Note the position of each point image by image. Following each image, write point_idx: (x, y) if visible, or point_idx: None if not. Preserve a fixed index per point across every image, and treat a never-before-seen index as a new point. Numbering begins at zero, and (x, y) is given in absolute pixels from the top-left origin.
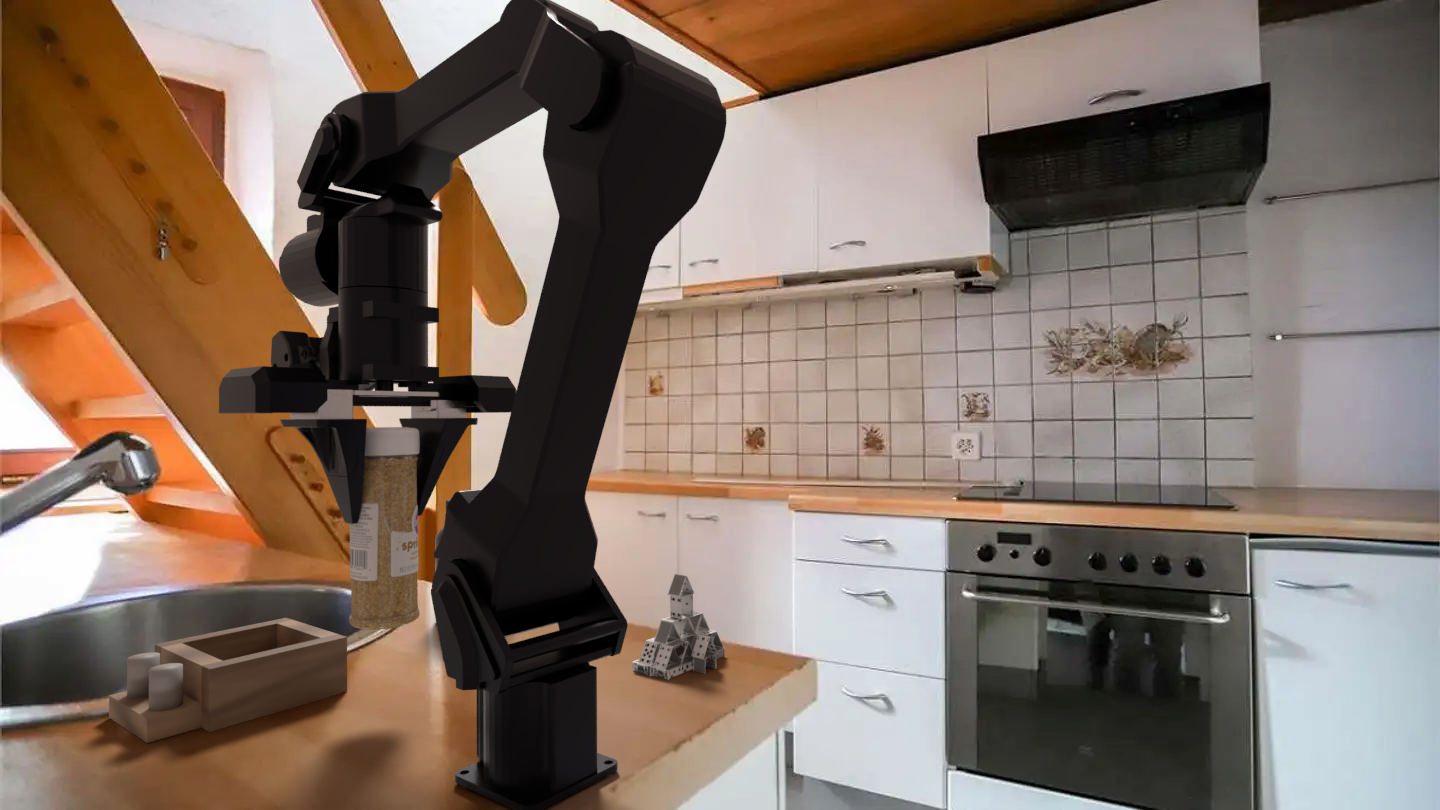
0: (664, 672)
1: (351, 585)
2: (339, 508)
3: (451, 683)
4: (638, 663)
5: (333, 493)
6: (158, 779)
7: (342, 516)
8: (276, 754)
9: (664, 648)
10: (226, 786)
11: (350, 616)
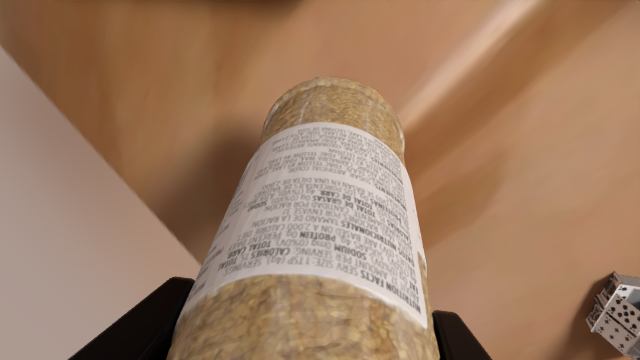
0: (594, 323)
1: (260, 145)
2: (135, 306)
3: (482, 73)
4: (614, 293)
5: (81, 349)
6: (41, 31)
7: (160, 286)
8: (168, 89)
9: (625, 341)
10: (99, 121)
11: (267, 120)
